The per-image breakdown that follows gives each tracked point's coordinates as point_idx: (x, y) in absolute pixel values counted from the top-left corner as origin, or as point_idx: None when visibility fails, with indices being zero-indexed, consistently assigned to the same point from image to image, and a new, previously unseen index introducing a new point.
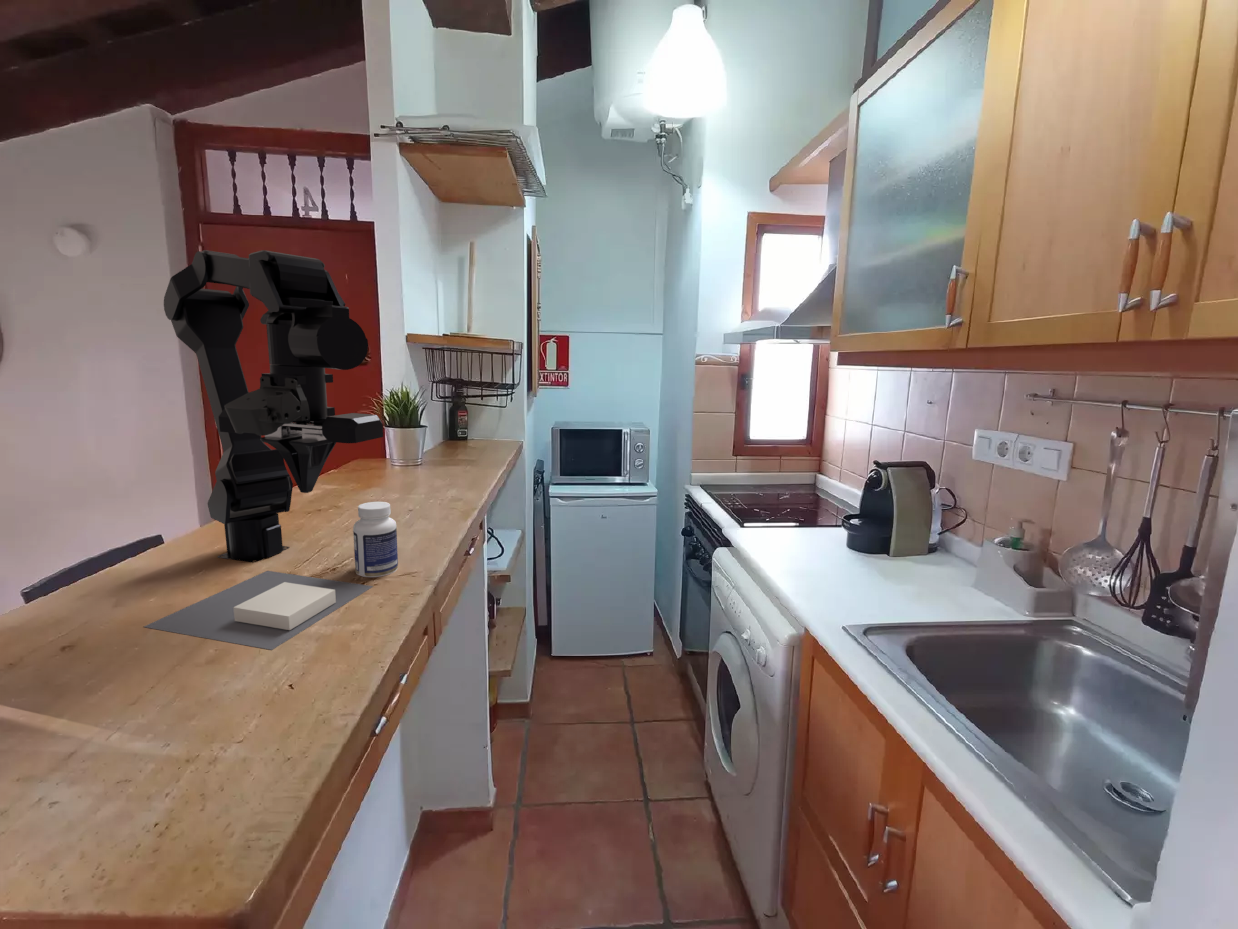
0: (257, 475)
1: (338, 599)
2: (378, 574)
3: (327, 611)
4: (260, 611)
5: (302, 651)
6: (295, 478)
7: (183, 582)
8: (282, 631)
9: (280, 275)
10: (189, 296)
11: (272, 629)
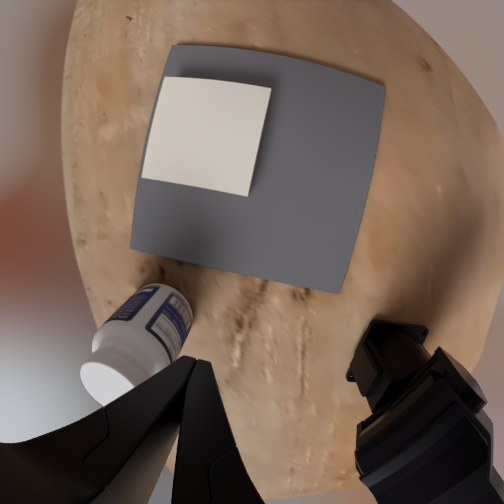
0: (423, 448)
1: (155, 192)
2: (140, 288)
3: None
4: (217, 81)
5: (144, 64)
6: (209, 397)
7: (435, 249)
8: None
9: None
10: None
11: None
